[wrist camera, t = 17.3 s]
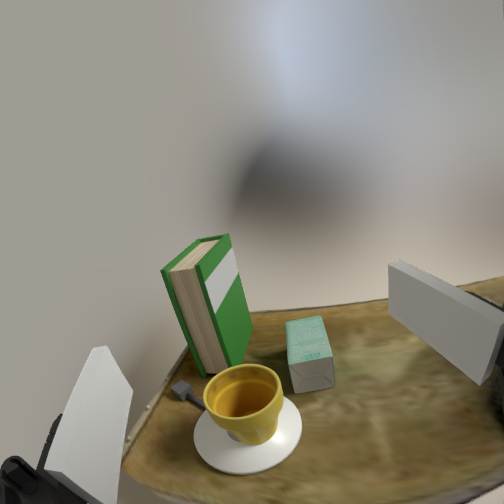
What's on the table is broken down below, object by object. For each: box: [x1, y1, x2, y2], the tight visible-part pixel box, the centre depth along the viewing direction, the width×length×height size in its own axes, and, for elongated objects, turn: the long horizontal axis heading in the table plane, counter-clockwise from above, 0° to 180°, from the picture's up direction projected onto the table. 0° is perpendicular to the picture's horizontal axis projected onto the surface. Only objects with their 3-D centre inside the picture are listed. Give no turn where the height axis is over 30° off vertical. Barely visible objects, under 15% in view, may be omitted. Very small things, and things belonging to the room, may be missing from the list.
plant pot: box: [203, 364, 284, 445], centre depth 34 cm, size 10×10×10 cm
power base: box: [171, 380, 302, 475], centre depth 39 cm, size 26×17×2 cm, turn 50°
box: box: [285, 316, 335, 394], centre depth 47 cm, size 7×14×8 cm, turn 176°
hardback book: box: [160, 234, 253, 378], centre depth 55 cm, size 18×7×24 cm, turn 169°
